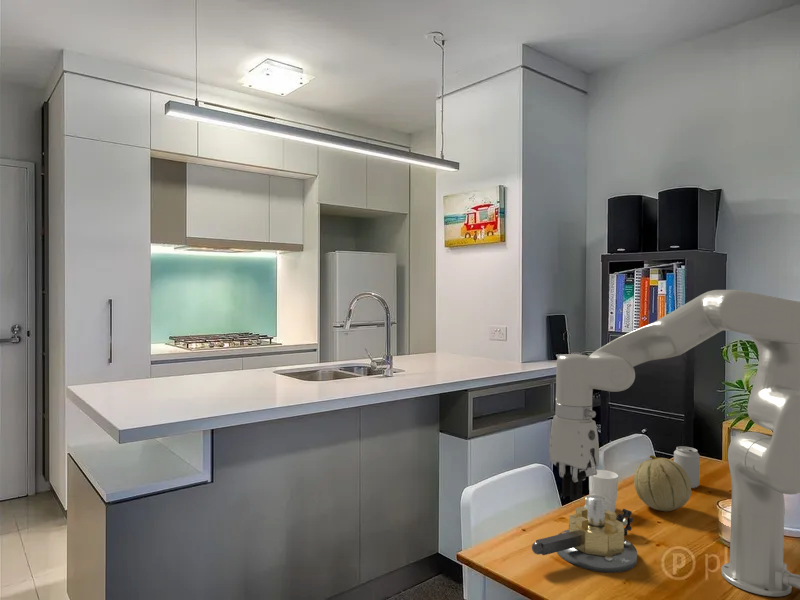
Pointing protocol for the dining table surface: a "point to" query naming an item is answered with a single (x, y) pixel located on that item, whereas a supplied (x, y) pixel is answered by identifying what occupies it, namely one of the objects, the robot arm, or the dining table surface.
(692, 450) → the can
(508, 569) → the dining table surface
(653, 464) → the cantaloupe
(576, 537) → the castle nut fixture
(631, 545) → the cap plate
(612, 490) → the white cup
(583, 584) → the dining table surface
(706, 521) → the dining table surface
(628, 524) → the valve
